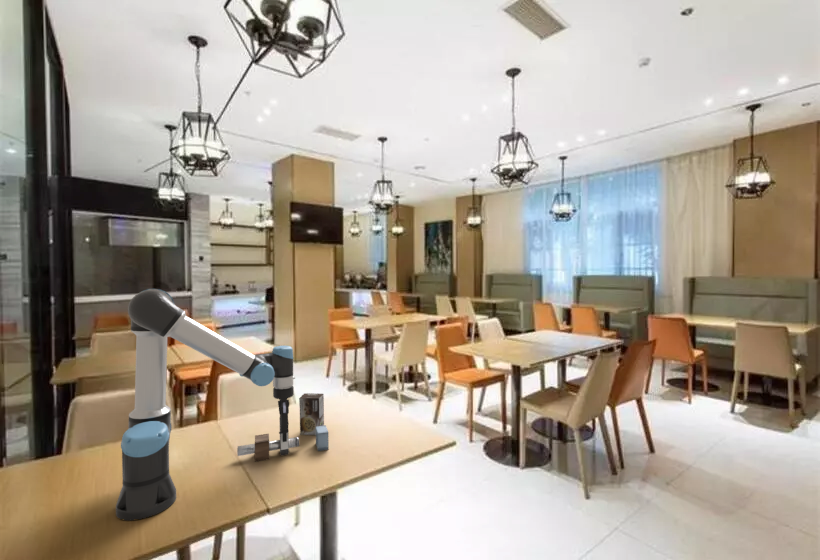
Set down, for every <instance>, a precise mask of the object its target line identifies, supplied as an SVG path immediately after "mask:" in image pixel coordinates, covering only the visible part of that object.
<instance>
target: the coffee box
mask: <svg viewBox="0 0 820 560" xmlns="http://www.w3.org/2000/svg"><path fill="white" fill-rule="evenodd" d="M324 397H325V395H324V393H308V392H307V393H303V394H302V395H301V396H300V397H299V398H298V399H299V400H298V403H299V434H300V435H307V436H308V435H310V436H316V427H318V426H324V425H325V414H324V412H325V410H324V409H325V408H324V407H325V405H324V401H325V398H324Z"/></svg>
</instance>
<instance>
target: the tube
mask: <svg viewBox="0 0 820 560" xmlns="http://www.w3.org/2000/svg"><path fill="white" fill-rule="evenodd" d="M279 432H281V417H280V416H279ZM298 447H300V438H299V436H295V437H290V438H289V437H288V449H285V450H281V434H279V439H276V440H271V441H270V440H269V452H270V451H277V450H279V454H280V455H279V456H287V455H290V454H289V453H290V450H289V449H290V448H298ZM236 449H237V457H240V456H246V455H252V454H254V455H255V443H249V444H244V445H237V448H236Z"/></svg>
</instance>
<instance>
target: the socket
mask: <svg viewBox="0 0 820 560" xmlns="http://www.w3.org/2000/svg"><path fill="white" fill-rule="evenodd" d="M315 445H316V448H317V452H321V451H328V450H329V447H330V446H329V430H328V427H327V425H325V424H324V426H318V427H316V435H315Z"/></svg>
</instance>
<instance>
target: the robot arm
mask: <svg viewBox="0 0 820 560" xmlns="http://www.w3.org/2000/svg"><path fill="white" fill-rule="evenodd" d="M127 314H128V316H129V319H130V332H132V333H133V334H134V335H135V336H136V338H135V339H136V342H135V343H136V344H135V346H136V347H135V378H134V381H135V382H134V386H135V387H134V409H132V411H130V412H129V413H128V426H127V427H128V429H127V430H126V431H125V432H124V433H123V435H122V438H121V443H120V448H121V463H122V465H121V469H122V470H121V471H122V487H121V488H120V489H121V490H120V493H119V496H118V499H117V501H116V504H115V516H116V518H118V519H119V518H120V519H119V520H121V519H124V520H123V521H135V520H134V519H139V520H143V519H146V517H147V518H149V516H150V517H153V516H156V515H157V514H159V513H162V512H164V511H165V510H166V509H168V508H170V507H171V506H172V505H173V504H174V503H175V501H176V500H177V488H176V486H175V483H174V481H173V479H172V477H171V474H170V456H169V455H170V438H171V433H172V423H171V417H172V415H171V413H172V410H171V409H172V408H171V407H170V406H169V405H167V370H168V369H167V367H168V366H167V365H168V359H167V358H168V338H172V339H174V340H175V341H177V342H179V343H181V344H183V345H185V346H187V347H188V348H191V349H192V350H194V351H196V352H198V353H199V354H202V355H204V356H205V357H207V358H209V359H211V360H212V361H215V362H217V363H219V364H220V365H222V366H224V367H226V368H228V369H230V370H232V371H233V372H235V373H237V374H239V376H240V377H244V378H246V379H248V380H250V381H251V382H252V383H253V384H254V385H255V386H258V387H266V386H268V385H270V384H271V383H272V387H273V389H272V392H273V394H272V397H273V398H274V399H275V400H276V399H277V400H278V401H277V403H278V404H277V405H278V414H279V417H281V432H280V431H278V434H279V435H280V434H281V450H285V449H288V438H289V433H290V432H289V413H290V411H289V409H290V408H289V407H290V400H289V398H292V397H294V392H295V391H294V387H295V386H294V380H295V379H296V377H295V376H294V350H293V347H292V346H290V345H278V346H274V347H273V348H272V351H271V352H268V353H258V354H254V353H251V352H249V351H248V350H246V349H244V348H243V347H241V346H240V345H238V344H236V343H234V342H232V341H231V340H229V339H227V338H225V337H223V336H222V335H220V334H218V333H217V332H215V331H213V330H211V329H210V328H208V327H207V326H205V325H203V324H201V323H200V322H197V320H194V319H192V318H190V317H189V316H187V314H186V311H185V310H184V309H182V308H180V307H179V306H177V305H176V304H175V302H174V299H173V297H172V296H171V295H170V294H169V293H168V292H167V291H165V290H162V289H160V288H146V289H144V290H142V291H139V293H137V294H136V295H134V296H133V297H132V298H131V299H130V301H129V303H128V306H127ZM152 515H153V516H152ZM142 518H143V519H142Z"/></svg>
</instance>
